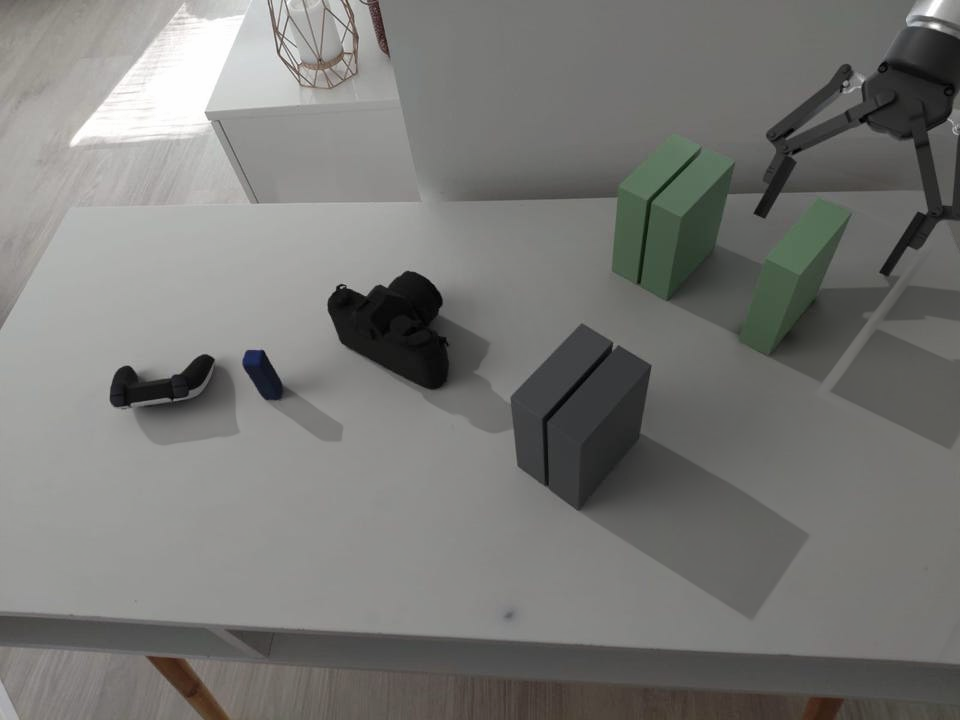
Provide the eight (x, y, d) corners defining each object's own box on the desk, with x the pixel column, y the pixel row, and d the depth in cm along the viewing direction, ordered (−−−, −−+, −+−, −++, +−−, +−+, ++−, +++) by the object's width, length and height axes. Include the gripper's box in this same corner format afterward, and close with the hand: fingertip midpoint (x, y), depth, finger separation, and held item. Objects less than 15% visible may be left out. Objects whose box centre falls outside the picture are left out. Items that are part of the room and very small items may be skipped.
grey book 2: (639, 438, 75) (652, 365, 65) (577, 511, 72) (580, 445, 61) (610, 419, 77) (618, 344, 66) (548, 489, 73) (546, 422, 62)
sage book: (815, 297, 83) (852, 212, 72) (768, 356, 79) (800, 275, 69) (785, 283, 85) (818, 196, 74) (738, 340, 81) (765, 257, 70)
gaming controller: (130, 403, 86) (101, 419, 79) (120, 365, 85) (90, 378, 78) (223, 388, 86) (202, 404, 79) (215, 350, 85) (193, 362, 78)
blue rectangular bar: (281, 401, 82) (260, 365, 76) (261, 400, 82) (239, 364, 76) (285, 384, 83) (265, 347, 77) (266, 384, 83) (244, 347, 78)
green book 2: (714, 247, 88) (735, 161, 78) (666, 300, 85) (681, 217, 74) (688, 234, 90) (706, 147, 79) (640, 286, 86) (651, 202, 76)
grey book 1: (606, 416, 77) (613, 341, 66) (544, 486, 73) (542, 419, 63) (578, 398, 79) (581, 322, 68) (517, 466, 75) (509, 396, 64)
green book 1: (685, 233, 90) (701, 146, 80) (636, 284, 86) (647, 200, 76) (660, 220, 92) (673, 133, 81) (611, 270, 88) (618, 186, 77)
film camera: (485, 337, 84) (478, 284, 77) (434, 400, 80) (422, 351, 73) (380, 284, 90) (364, 231, 82) (327, 341, 86) (305, 290, 78)
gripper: (1080, 96, 69) (941, 302, 76) (822, 11, 80) (721, 198, 86) (1093, 75, 63) (940, 301, 69) (811, -14, 73) (702, 190, 80)
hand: (818, 244), depth 78 cm, fingers open, 13 cm apart
